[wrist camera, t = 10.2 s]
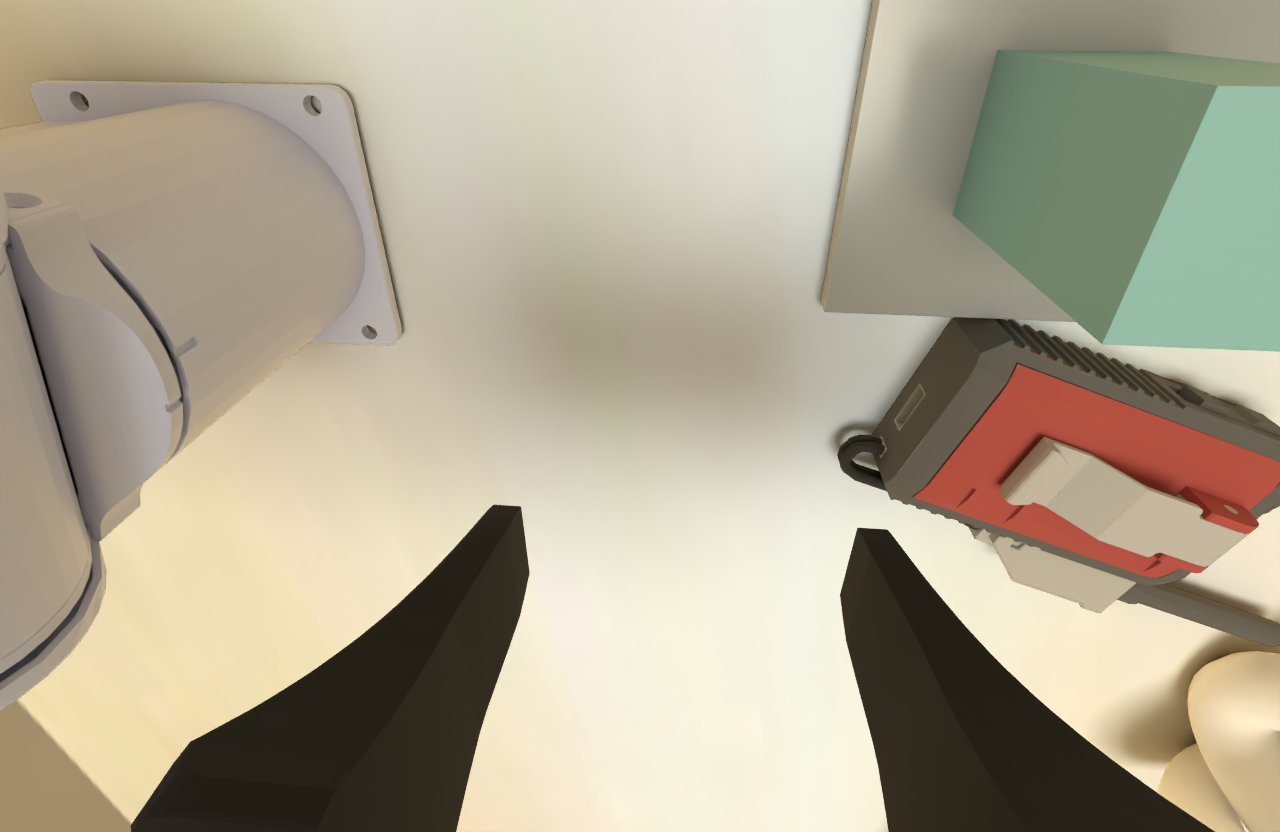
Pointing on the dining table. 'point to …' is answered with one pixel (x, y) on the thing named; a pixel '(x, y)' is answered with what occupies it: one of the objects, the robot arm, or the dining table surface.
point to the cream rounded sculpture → (1231, 746)
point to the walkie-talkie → (1078, 468)
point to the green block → (1135, 192)
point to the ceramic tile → (945, 127)
